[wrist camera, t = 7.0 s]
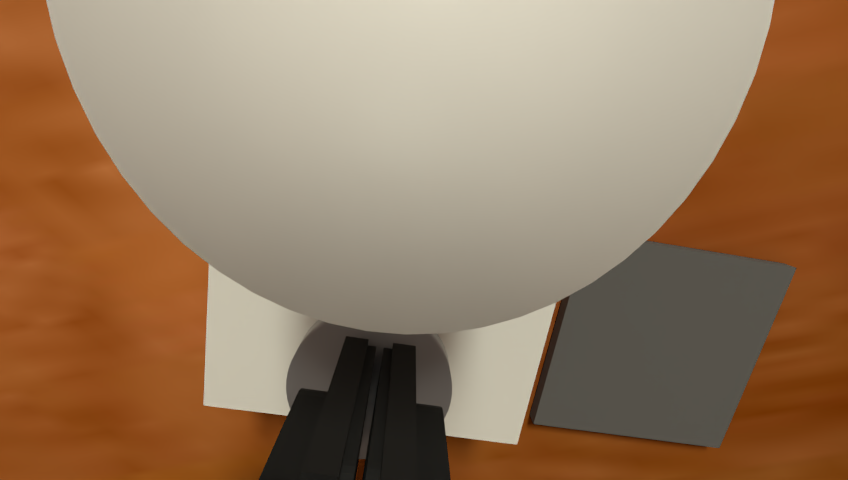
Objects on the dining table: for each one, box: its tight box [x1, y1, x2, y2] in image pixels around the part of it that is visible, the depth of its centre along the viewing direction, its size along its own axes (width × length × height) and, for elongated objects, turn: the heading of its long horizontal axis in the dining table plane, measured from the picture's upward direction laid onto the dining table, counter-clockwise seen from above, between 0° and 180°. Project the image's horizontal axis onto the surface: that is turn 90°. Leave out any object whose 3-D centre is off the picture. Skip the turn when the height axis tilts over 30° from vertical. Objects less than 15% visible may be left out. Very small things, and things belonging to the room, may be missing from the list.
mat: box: [530, 241, 796, 448], centre depth 18 cm, size 9×9×1 cm
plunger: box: [286, 320, 452, 459], centre depth 13 cm, size 4×4×6 cm
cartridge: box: [46, 0, 774, 334], centre depth 9 cm, size 5×5×13 cm
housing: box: [204, 264, 556, 444], centre depth 13 cm, size 20×10×5 cm, turn 170°
